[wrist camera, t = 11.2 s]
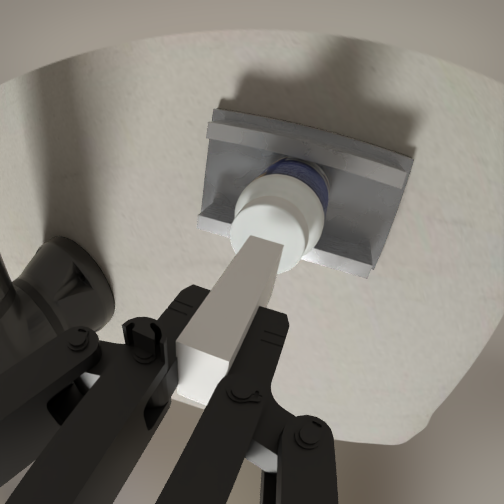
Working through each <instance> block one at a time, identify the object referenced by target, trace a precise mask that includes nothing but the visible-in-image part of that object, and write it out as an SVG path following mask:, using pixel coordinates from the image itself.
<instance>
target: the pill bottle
mask: <svg viewBox="0 0 504 504" xmlns="http://www.w3.org/2000/svg"><path fill="white" fill-rule="evenodd" d="M329 193H330V190H329V182H328V179H327V177H326V175H325V173H324V171H323V170H322V169H321V168H320V167H319V166H318V165H317V164H316V163H314V162H312V161H308V160H304V159H300V158H296V157H292V156H288V157H284V158H281V159H279V160H277V161H276V162H274V163H273V164H272V165H270V166H269V167H268V168H267V169H266V170H264V171H263V172H262V173H261V174H260V175H259V176H258V177H257V178H255V179H254V180H253V181H252V182H251V183H250V184H249V185H248V186H247V187H246V188H245V189H244V190H243V191H242V193H241V195H240V196H239V198H238V201H237V204H236V207H235V219H234V220H233V222H232V225H231V229H230V241H231V245H232V248H233V250H234V252H235V254H237V253H238V252H239V250H240V249H241V247H242V246H243V245H244V243H245V242H246V240H247V239H248V237H249V236H250V235H252V236H255V237H259V238H262V239H265V240H269V241H272V242H276V243H279V244H282V245H284V247H283V251H282V255H281V259H280V263H279V267H278V271H277V274H279V273H283V272H286V271H288V270H290V269H292V268H293V267H294V266H295V265H296V264H297V263H298V262H299V261H300V260H301V258H302V256H304V255H306V254H307V253H308V252H310V251H311V250H312V249H313V248H314V246H315V245H316V244H317V242H318V240H319V239H320V236H321V234H322V231H323V227H324V223H325V216H326V211H327V206H328V200H329Z"/></svg>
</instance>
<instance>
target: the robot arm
mask: <svg viewBox="0 0 504 504" xmlns="http://www.w3.org/2000/svg"><path fill="white" fill-rule="evenodd" d="M283 247H284V245H282V244H279V243H276V242H272V241H269V240H265V239H262V238H259V237H255V236H252V235H250V236H249V237H248V239H247V240H246V242H245V243H244V245H243V246H242V247H241V249H240V250H239V252H238V253H237V254H236V256H235V257H234V259H233V260H232V261H231V263H230V264H229V266H228V267H227V269H226V270H225V271H224V273H223V274H222V276H221V277H220V278H219V280H218V281H217V283H216V284H215V286H214V287H213V288H212V290H211V291H210V290H208V289H205V288H202V287H199V286H196V285H191V286H189V287H187V288H185V289H183V290H182V291H181V292H180V293H179V294H178V295H177V297H176V298H175V299H174V301H173V302H172V303H171V304H170V305H169V306H168V309H166V310H165V311H164V313H163V314H162V315H161V316H160V317H159V319H158V320H155V319H152V318H148V317H136V318H133V319H130V320H128V321H127V322H125V323H124V324H123V325H122V328H123V334H124V339H125V344H117V343H111V342H105V341H100V340H99V338H98V335H97V334H96V333H95V332H97V331H99V330H101V329H102V328H103V327H104V326H105V325H106V324H107V323H108V322H109V321H110V320H111V318H112V316H113V313H114V300H113V296H112V292H111V290H110V287H109V285H108V282H107V280H106V278H105V277H104V275H103V273H102V271H101V270H100V268H99V267H98V265H97V264H96V263H95V261H94V260H93V259H92V258H91V257H90V255H89V254H88V253H87V252H86V251H85V250H84V249H82V248H81V247H80V246H79V245H78V244H76V243H75V242H73V241H71V240H69V239H67V238H64V237H54V238H52V239H50V240H49V241H47V242H46V243H44V244H43V245H42V246H41V247H40V248H39V249H38V250H37V252H36V254H35V256H34V257H33V258H32V259H31V261H30V262H29V263H28V265H27V266H26V268H25V269H24V271H23V272H22V273H21V275H20V276H19V277H18V278H17V279H16V280H14V281H13V282H11V279H10V277H9V274H8V272H7V269H6V267H5V264H4V262H3V259H2V257H1V254H0V487H1V486H2V485H4V484H5V483H6V482H8V481H9V480H10V479H12V478H13V477H14V476H15V475H17V474H18V473H19V472H21V471H22V470H23V469H25V468H26V467H27V466H28V465H30V464H31V463H32V462H33V461H35V462H34V463H33V465H32V466H31V467H30V469H29V470H28V471H27V473H26V474H25V476H24V477H23V478H22V480H21V481H20V483H19V484H18V486H17V487H16V488H15V490H14V491H13V493H12V494H11V496H10V497H9V499H8V500H7V502H6V503H5V504H113V502H114V500H115V499H116V497H117V495H118V493H119V492H120V490H121V488H122V487H123V485H124V484H125V482H126V480H127V479H128V477H129V475H130V474H131V472H132V470H133V468H134V467H135V465H136V463H137V462H138V460H139V458H140V457H141V455H142V453H143V452H144V450H145V448H146V447H147V445H148V443H149V442H150V440H151V438H152V436H153V435H154V433H155V431H156V430H157V428H158V426H159V425H160V423H161V421H162V420H163V418H164V416H165V414H166V413H167V411H168V409H169V408H170V404H171V396H172V394H173V392H174V391H175V389H176V387H177V393H178V394H179V395H181V396H184V397H186V398H188V399H191V400H193V401H196V402H198V403H201V404H203V405H206V408H205V410H204V412H203V414H202V416H201V418H200V420H199V422H198V424H197V426H196V427H195V429H194V431H193V434H192V435H191V437H190V439H189V441H188V443H187V445H186V447H185V449H184V451H183V453H182V454H181V456H180V458H179V460H178V462H177V464H176V466H175V468H174V470H173V471H172V473H171V475H170V477H169V479H168V481H167V483H166V484H165V486H164V488H163V490H162V492H161V494H160V496H159V497H158V499H157V501H156V503H155V504H226V502H227V500H228V497H229V495H230V492H231V490H232V488H233V485H234V483H235V480H236V478H237V475H238V473H239V470H240V468H241V465H242V463H243V460H244V458H246V459H247V460H249V461H250V462H252V463H253V464H255V465H256V466H258V467H259V468H261V469H262V473H261V490H260V504H338V492H337V475H336V462H335V450H334V438H333V434H332V431H331V429H330V427H329V426H328V425H327V424H326V423H325V422H324V421H323V420H321V419H319V418H318V417H314V416H310V415H303V416H297V417H296V416H294V415H293V414H291V413H289V412H288V411H286V410H285V409H283V408H282V407H281V406H280V405H278V403H277V402H276V401H275V399H274V398H273V395H272V393H271V382H272V379H273V376H274V373H275V370H276V367H277V364H278V361H279V357H280V354H281V351H282V348H283V345H284V342H285V339H286V335H287V332H288V329H289V322H288V318H287V314H284V313H281V312H277V311H274V310H271V309H268V308H266V307H267V304H268V302H269V300H270V297H271V295H272V291H273V287H274V283H275V279H276V275H277V271H278V267H279V263H280V259H281V255H282V251H283Z"/></svg>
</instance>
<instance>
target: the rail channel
mask: <svg viewBox="0 0 504 504" xmlns="http://www.w3.org/2000/svg"><path fill="white" fill-rule="evenodd" d="M206 138H208V139H209V146H208V155H207V163H206V171H205V180H204V190H203V199H202V209H201V213H200V214H198V219H197V229H200V230H204V231H207V232H211V233H214V234H217V235H221V236H224V237H228V238H230V229H231V225H232V222H233V220H234V219H235V207H236V204H237V201H238V198H239V196H240V195H241V193H242V191H243V190H244V189H245V188H246V187H247V186H248V185H249V184H250V183H251V182H252V181H253V180H254V179H255V178H257V177H258V176H259V175H260V174H261V173H262V172H263V171H264V170H266V169H267V168H268V167H269V166H270V165H272V164H273V163H274V162H276V161H277V160H279V159H281V158H284V157H288V156H292V157H296V158H300V159H304V160H308V161H312V162H314V163H316V164H317V165H318V166H319V167H320V168H321V169H322V170H323V171H324V173H325V175H326V177H327V179H328V182H329V190H330V193H329V200H328V206H327V211H326V216H325V223H324V227H323V231H322V234H321V236H320V239H319V240H318V242H317V244H316V245H315V246H314V248H313V249H312V250H311V251H310V252H308V253H307V254H306V255H304V256H302V258H301V259H303V260H306V261H309V262H313V263H316V264H319V265H323V266H326V267H329V268H333V269H336V270H339V271H343V272H346V273H349V274H353V275H356V276H359V277H363V278H366V279H367V278H368V276H369V273H370V271H371V269H373V270H374V268H375V266H376V263H377V261H378V259H379V256H380V254H381V251H382V249H383V246H384V244H385V241H386V239H387V236H388V234H389V231H390V228H391V226H392V223H393V220H394V218H395V215H396V212H397V209H398V206H399V204H400V201H401V198H402V195H403V192H404V189H405V186H406V183H407V180H408V177H409V174H410V170H411V167H412V164H413V161H414V159H412V158H411V157H408V156H405V155H403V154H400V153H397V152H394V151H391V150H388V149H385V148H382V147H379V146H376V145H373V144H370V143H367V142H364V141H360V140H357V139H354V138H350V137H347V136H344V135H340V134H336V133H333V132H329V131H325V130H322V129H318V128H314V127H310V126H306V125H301V124H297V123H293V122H288V121H284V120H279V119H274V118H269V117H264V116H259V115H254V114H248V113H243V112H237V111H231V110H224V109H218V108H217V109H213V116H212V121H211V122H208V128H207V135H206Z"/></svg>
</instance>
